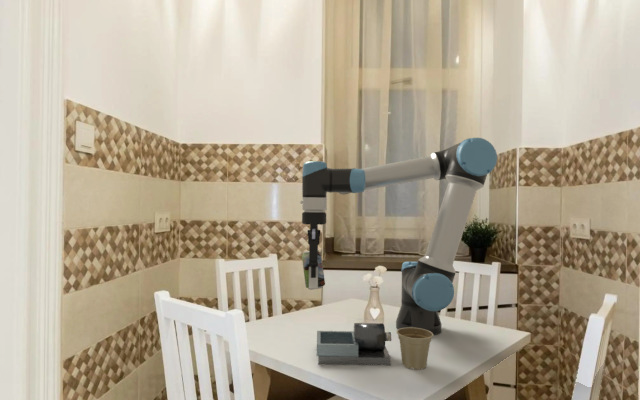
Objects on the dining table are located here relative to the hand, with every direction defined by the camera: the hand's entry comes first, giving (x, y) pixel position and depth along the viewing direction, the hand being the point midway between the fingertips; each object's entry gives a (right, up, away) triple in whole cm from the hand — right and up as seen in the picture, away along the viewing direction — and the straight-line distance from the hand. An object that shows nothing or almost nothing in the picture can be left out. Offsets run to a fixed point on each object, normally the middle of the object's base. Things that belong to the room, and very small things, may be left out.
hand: (313, 285), depth 127 cm
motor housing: (+11, -17, -13) cm, 24 cm away
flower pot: (+27, -17, -19) cm, 37 cm away
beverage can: (0, -1, 0) cm, 1 cm away
